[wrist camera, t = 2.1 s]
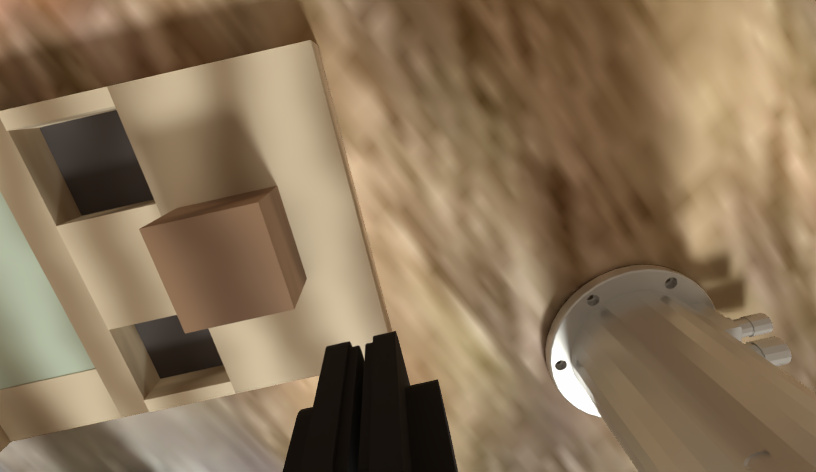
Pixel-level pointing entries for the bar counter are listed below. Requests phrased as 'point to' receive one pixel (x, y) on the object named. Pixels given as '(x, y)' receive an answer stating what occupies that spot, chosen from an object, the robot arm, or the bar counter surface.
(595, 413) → the robot arm
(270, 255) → the walnut block
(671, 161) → the bar counter surface
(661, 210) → the bar counter surface
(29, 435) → the trap board
